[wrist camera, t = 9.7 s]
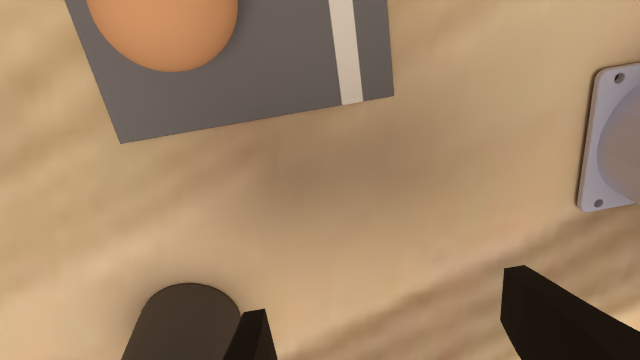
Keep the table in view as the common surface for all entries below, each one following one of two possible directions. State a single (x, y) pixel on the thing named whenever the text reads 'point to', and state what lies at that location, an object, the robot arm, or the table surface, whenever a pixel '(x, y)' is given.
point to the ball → (166, 30)
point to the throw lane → (249, 68)
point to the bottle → (184, 325)
